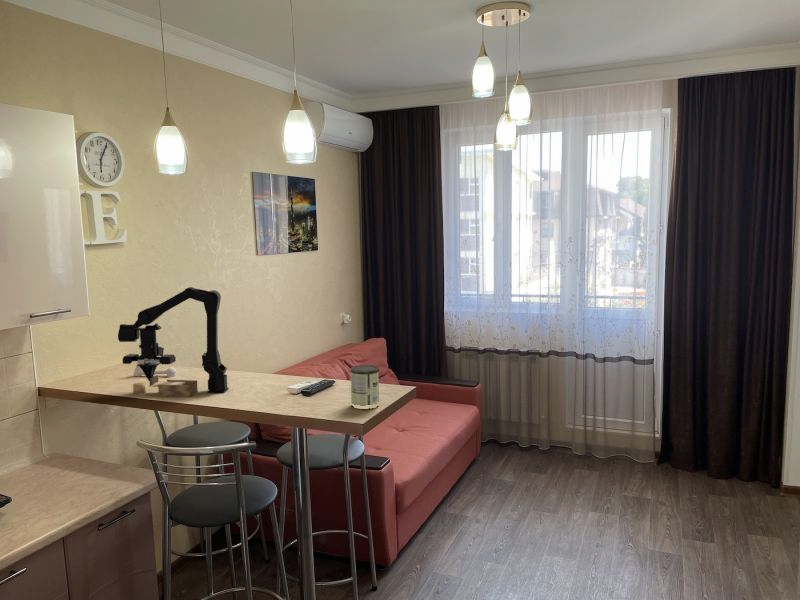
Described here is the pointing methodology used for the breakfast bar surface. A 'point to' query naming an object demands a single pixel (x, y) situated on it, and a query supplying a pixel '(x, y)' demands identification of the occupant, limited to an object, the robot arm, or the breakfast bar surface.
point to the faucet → (156, 371)
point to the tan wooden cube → (139, 388)
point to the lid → (155, 382)
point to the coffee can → (364, 385)
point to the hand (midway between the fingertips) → (150, 380)
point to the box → (178, 388)
